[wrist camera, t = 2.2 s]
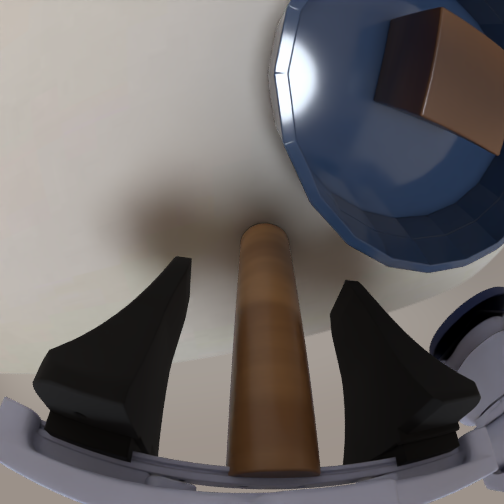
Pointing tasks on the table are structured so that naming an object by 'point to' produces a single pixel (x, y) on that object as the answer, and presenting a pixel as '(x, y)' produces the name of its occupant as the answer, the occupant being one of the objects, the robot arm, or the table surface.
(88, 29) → the table surface
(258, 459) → the rod
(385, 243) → the bowl
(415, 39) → the block
